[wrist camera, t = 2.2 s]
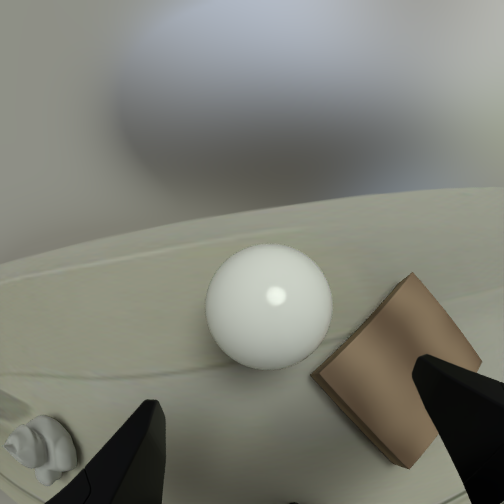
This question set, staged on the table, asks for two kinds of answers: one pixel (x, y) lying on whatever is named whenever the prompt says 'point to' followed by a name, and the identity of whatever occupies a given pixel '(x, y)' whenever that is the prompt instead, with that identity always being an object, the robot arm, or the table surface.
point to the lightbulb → (268, 306)
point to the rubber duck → (43, 448)
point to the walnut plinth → (394, 370)
